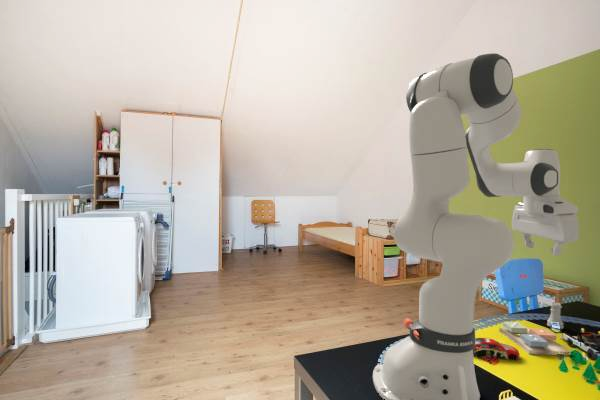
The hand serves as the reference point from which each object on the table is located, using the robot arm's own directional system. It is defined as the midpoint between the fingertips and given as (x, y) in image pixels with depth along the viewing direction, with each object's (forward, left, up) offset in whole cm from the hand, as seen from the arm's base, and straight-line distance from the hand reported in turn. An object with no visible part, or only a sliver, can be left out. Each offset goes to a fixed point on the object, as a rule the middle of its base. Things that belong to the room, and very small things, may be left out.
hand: (541, 251), depth 98 cm
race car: (-19, -10, -27) cm, 35 cm away
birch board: (-3, -2, -27) cm, 27 cm away
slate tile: (-5, -6, -25) cm, 26 cm away
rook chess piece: (+12, +11, -27) cm, 31 cm away
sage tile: (-5, +3, -25) cm, 26 cm away
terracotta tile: (0, -2, -25) cm, 25 cm away
